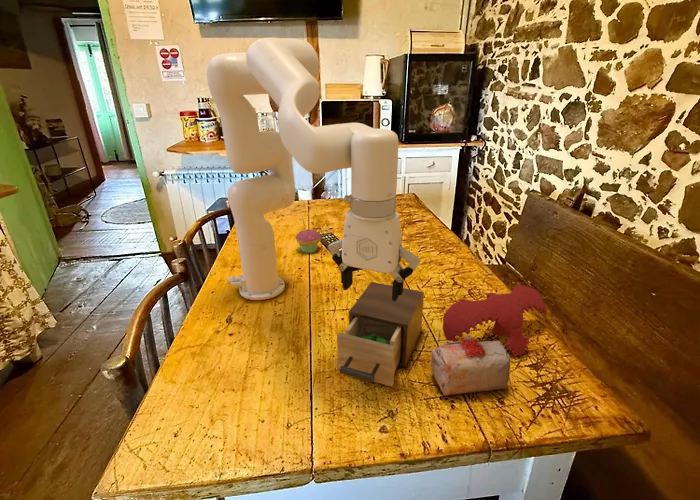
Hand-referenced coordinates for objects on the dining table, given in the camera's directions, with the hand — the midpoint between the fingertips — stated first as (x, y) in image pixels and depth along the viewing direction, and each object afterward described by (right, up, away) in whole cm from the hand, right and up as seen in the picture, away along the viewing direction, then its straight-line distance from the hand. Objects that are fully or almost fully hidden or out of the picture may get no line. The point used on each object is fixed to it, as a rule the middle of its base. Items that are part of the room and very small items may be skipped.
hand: (371, 291), depth 74 cm
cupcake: (-18, +8, +62) cm, 65 cm away
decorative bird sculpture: (+30, -13, +15) cm, 36 cm away
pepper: (0, -14, +6) cm, 15 cm away
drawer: (0, -16, +7) cm, 17 cm away
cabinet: (+4, -13, +15) cm, 20 cm away
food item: (+19, -18, +3) cm, 27 cm away
